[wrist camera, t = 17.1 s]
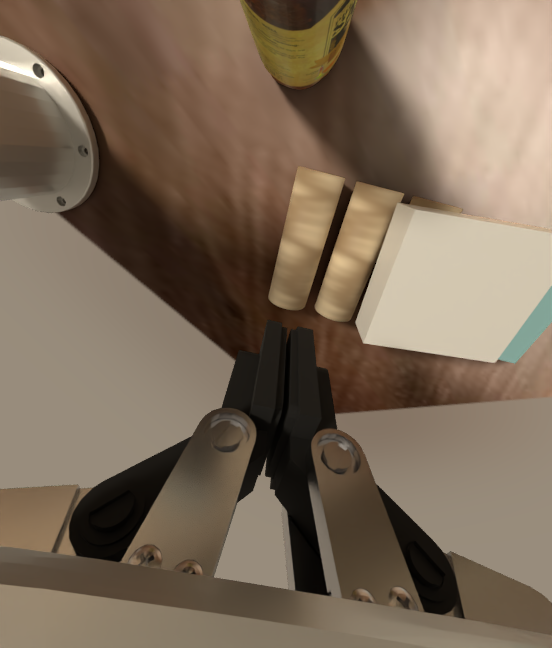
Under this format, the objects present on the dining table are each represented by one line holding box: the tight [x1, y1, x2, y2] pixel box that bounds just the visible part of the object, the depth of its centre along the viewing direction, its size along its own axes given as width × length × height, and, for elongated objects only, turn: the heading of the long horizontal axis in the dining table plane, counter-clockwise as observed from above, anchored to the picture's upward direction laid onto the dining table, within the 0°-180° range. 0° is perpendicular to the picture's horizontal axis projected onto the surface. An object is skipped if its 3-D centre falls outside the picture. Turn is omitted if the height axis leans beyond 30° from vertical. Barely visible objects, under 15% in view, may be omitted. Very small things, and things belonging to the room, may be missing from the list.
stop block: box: [498, 286, 552, 363], centre depth 26 cm, size 2×11×5 cm, turn 167°
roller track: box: [268, 166, 463, 322], centre depth 26 cm, size 22×12×4 cm, turn 77°
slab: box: [355, 203, 552, 363], centre depth 23 cm, size 12×11×4 cm
